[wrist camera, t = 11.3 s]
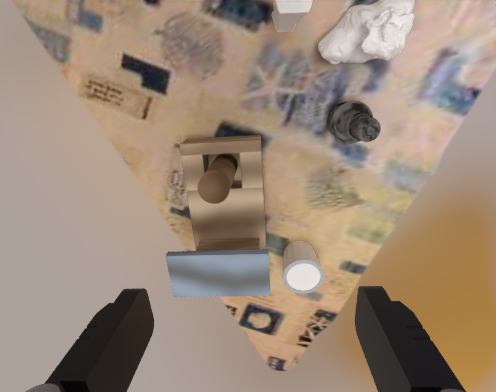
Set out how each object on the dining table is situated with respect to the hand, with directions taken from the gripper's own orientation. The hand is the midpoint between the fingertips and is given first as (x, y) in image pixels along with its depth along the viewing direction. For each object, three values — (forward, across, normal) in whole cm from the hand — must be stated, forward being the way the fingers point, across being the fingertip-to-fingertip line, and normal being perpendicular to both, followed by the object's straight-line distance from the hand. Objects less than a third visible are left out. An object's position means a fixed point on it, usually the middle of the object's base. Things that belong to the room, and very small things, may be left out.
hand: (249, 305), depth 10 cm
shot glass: (+36, -6, +22) cm, 43 cm away
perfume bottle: (+36, -4, -16) cm, 40 cm away
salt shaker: (+36, -13, -2) cm, 39 cm away
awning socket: (+36, +6, +8) cm, 37 cm away
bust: (+36, -14, -13) cm, 41 cm away
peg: (+36, +6, +4) cm, 36 cm away
